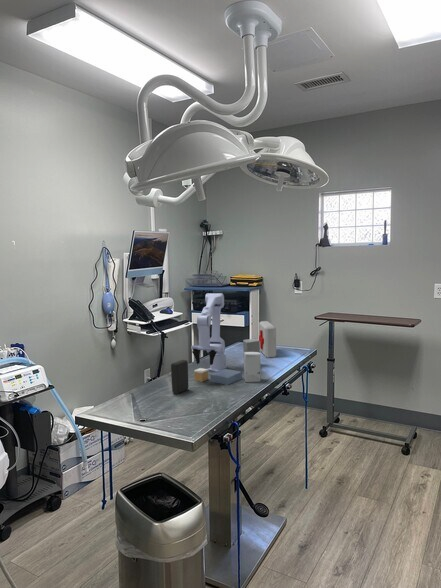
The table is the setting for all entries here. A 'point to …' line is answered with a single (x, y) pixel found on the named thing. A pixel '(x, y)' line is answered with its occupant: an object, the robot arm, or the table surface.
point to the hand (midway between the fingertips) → (204, 364)
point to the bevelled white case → (267, 339)
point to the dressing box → (226, 376)
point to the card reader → (179, 376)
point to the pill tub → (201, 374)
